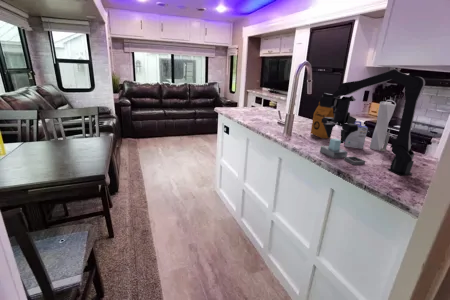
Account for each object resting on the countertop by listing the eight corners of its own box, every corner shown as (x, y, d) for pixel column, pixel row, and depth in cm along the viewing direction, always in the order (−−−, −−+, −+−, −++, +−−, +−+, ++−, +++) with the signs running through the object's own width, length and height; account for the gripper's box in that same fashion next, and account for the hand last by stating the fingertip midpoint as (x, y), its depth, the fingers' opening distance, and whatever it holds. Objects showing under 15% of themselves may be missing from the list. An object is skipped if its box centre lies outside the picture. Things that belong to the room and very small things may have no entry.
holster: (364, 163, 110) (365, 161, 109) (354, 165, 108) (355, 162, 107) (354, 159, 115) (354, 156, 115) (344, 160, 113) (344, 157, 113)
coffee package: (319, 139, 146) (326, 103, 139) (308, 133, 157) (313, 100, 150) (333, 138, 149) (340, 104, 142) (320, 133, 160) (326, 101, 153)
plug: (337, 155, 119) (341, 140, 117) (332, 155, 118) (335, 140, 116) (333, 153, 122) (336, 138, 120) (327, 153, 121) (330, 138, 119)
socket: (346, 157, 117) (347, 151, 116) (333, 158, 115) (334, 152, 114) (332, 150, 126) (333, 144, 125) (319, 151, 124) (321, 145, 123)
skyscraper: (382, 152, 127) (397, 100, 118) (366, 148, 133) (379, 98, 123) (386, 149, 133) (400, 99, 124) (370, 146, 138) (383, 98, 129)
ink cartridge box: (361, 146, 136) (367, 121, 131) (363, 149, 131) (369, 123, 126) (342, 144, 139) (348, 120, 134) (344, 146, 134) (349, 121, 129)
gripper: (371, 113, 107) (362, 145, 112) (340, 106, 124) (335, 134, 129) (351, 113, 104) (344, 146, 109) (323, 106, 120) (318, 135, 125)
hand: (335, 140), depth 118 cm, fingers open, 9 cm apart
